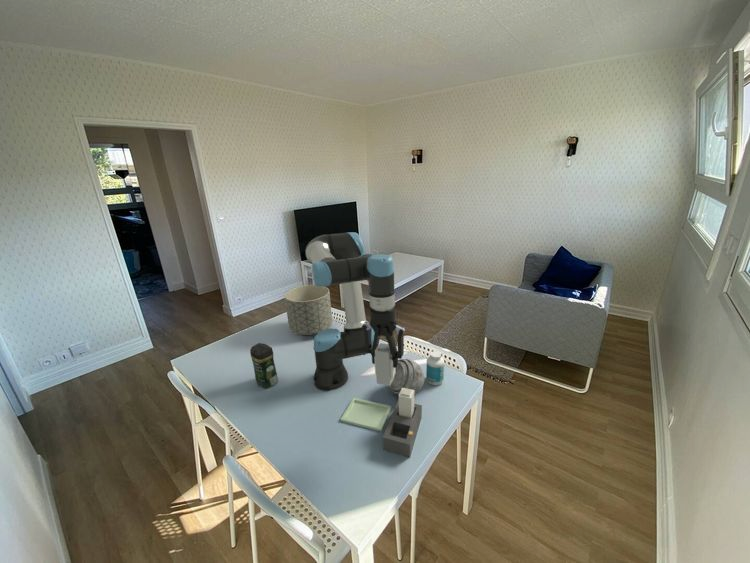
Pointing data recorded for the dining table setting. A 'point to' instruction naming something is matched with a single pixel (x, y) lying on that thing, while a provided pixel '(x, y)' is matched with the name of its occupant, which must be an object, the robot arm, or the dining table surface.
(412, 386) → the decorative orb
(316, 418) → the dining table surface
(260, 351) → the coffee jar
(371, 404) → the tray
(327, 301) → the planter
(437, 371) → the pill bottle
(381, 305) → the robot arm
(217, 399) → the dining table surface
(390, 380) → the plug
